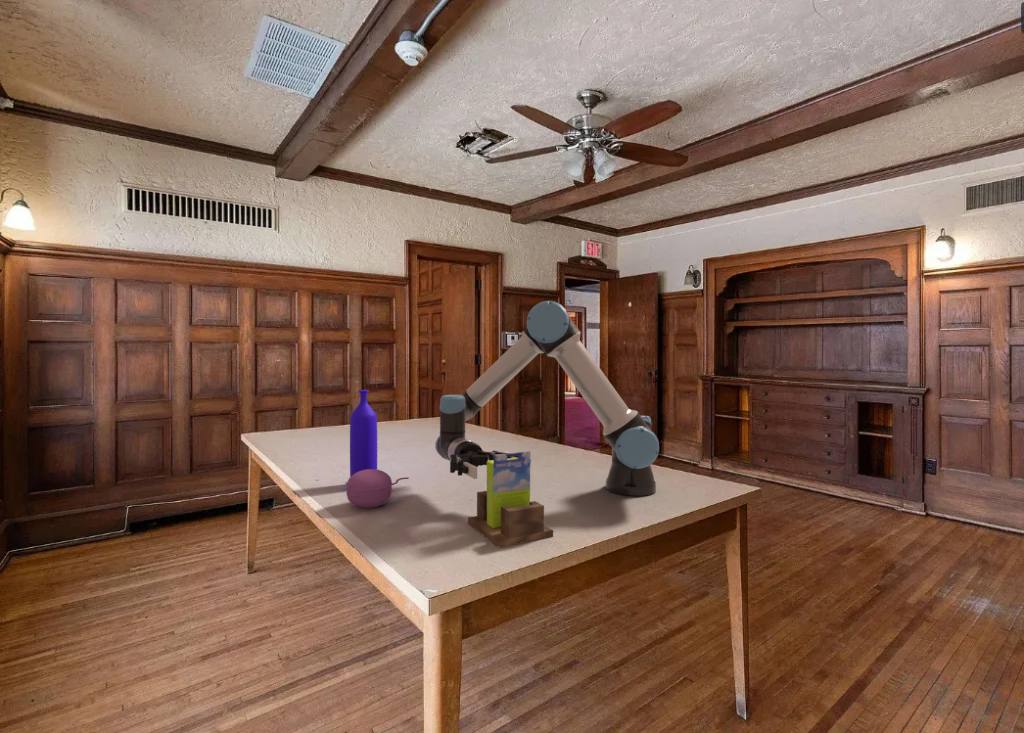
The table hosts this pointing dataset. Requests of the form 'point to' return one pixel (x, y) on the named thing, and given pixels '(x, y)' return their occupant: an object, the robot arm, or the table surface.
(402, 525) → the table surface
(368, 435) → the bottle
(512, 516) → the slot stand
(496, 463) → the box
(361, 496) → the pink toy mouse
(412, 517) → the table surface
